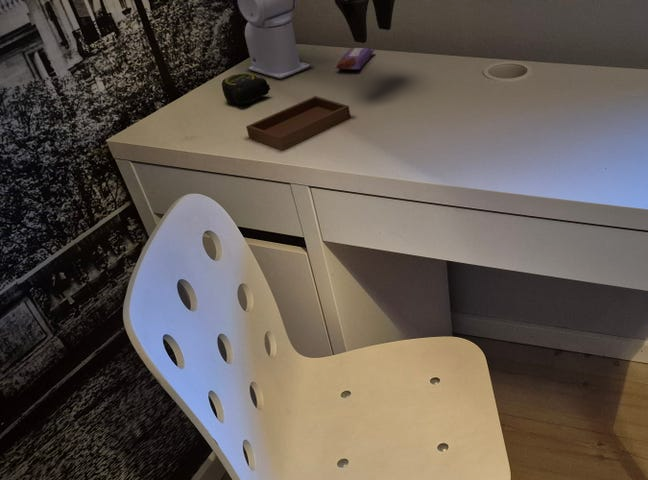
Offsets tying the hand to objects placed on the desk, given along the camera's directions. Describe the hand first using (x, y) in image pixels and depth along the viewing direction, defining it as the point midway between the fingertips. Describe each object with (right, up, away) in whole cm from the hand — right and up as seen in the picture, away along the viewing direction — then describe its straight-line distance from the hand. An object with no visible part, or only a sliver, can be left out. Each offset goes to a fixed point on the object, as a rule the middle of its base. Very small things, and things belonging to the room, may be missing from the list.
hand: (372, 35), depth 116 cm
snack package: (-6, +3, +18) cm, 19 cm away
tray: (-11, -18, -5) cm, 22 cm away
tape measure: (-23, -10, +5) cm, 26 cm away
